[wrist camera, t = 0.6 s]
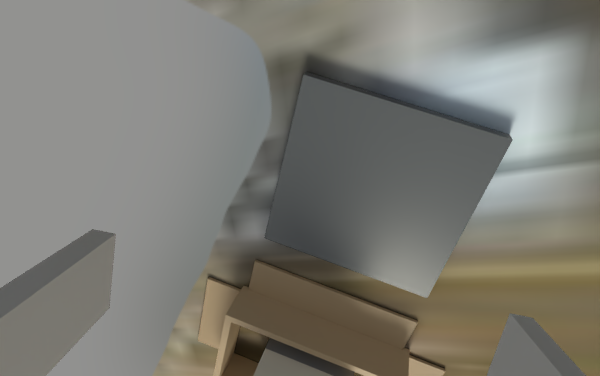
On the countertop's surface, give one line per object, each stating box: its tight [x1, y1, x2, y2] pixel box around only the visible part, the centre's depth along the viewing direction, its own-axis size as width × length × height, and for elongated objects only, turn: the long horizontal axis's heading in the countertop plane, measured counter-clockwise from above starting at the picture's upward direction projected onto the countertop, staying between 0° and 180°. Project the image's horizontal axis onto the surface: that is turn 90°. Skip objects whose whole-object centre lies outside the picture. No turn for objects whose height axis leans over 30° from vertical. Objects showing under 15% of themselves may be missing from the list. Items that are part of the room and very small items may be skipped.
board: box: [264, 72, 512, 298], centre depth 30 cm, size 14×14×1 cm
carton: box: [198, 260, 445, 376], centre depth 38 cm, size 17×23×4 cm
